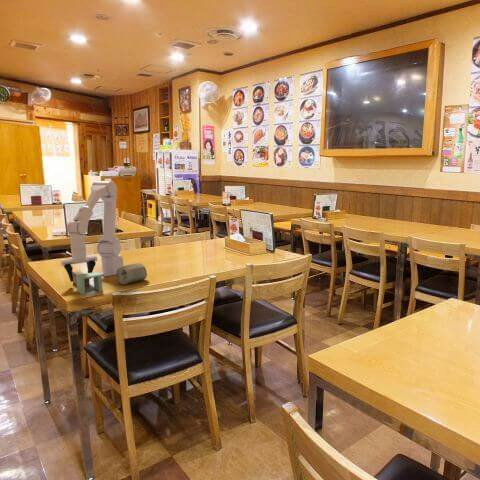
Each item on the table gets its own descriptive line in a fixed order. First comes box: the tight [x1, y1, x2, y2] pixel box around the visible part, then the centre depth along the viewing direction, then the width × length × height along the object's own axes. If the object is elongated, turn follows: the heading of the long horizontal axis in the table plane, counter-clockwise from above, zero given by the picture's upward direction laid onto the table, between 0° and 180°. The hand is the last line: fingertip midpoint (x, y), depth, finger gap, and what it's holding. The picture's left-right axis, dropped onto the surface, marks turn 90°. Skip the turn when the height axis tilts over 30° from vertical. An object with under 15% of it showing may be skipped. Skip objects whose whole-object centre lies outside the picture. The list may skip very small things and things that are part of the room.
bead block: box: [76, 271, 103, 295], centre depth 166 cm, size 8×6×7 cm
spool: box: [116, 262, 148, 286], centre depth 179 cm, size 14×10×10 cm
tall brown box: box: [72, 270, 91, 290], centre depth 176 cm, size 3×13×5 cm, turn 38°
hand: (80, 279), depth 176 cm, fingers open, 7 cm apart
